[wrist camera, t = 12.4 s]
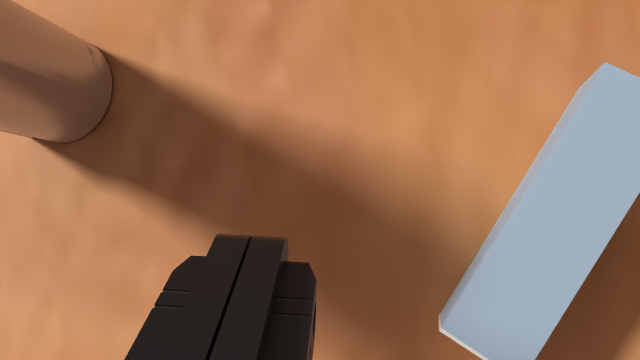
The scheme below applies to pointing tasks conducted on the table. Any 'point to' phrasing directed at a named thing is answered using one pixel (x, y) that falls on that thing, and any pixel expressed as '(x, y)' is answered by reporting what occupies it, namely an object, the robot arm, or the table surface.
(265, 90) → the table surface
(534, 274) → the bluegrey block
